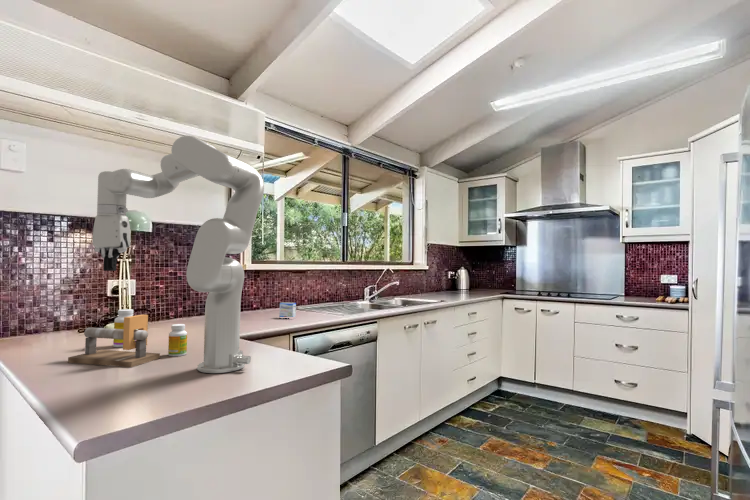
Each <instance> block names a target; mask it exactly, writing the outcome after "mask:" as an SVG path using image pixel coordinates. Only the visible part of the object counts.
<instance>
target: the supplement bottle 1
mask: <svg viewBox="0 0 750 500" xmlns="http://www.w3.org/2000/svg"><path fill="white" fill-rule="evenodd" d="M117 314H118V316H116V317H115V318H114V321H113V326H114V327H113V329H124V317H130V316H134V309H130V308H129V309H128V308H127V309H125V308H124V309H118V311H117ZM135 330H137V329H135ZM133 341H136V340H133ZM112 342H113V345H112V346H113V347H114V348H122V349H123V339H113V341H112Z"/></svg>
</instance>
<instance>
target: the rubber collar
mask: <svg viewBox="0 0 750 500" xmlns="http://www.w3.org/2000/svg"><path fill="white" fill-rule="evenodd" d="M148 323H149V314H137V315H133V316H130V317H124V332H123V348H122V351H130V350H134V349H135V350H136V341H138V340H135V341H133V337H134V330H135V329H136V330H146V331H147V332H148V331H149V329H148V328H149V326H148V325H149V324H148ZM146 346H148V338H147V339H146Z"/></svg>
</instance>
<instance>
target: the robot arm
mask: <svg viewBox="0 0 750 500" xmlns="http://www.w3.org/2000/svg"><path fill="white" fill-rule="evenodd" d="M170 152H171V153H169V154H166V155H164V156H163V157H162V158H161V160H160V168H161V171H160V172H159V173H156V174H147V173H144V172H141V171H138V170H137V171H136V170H132V169H130V168H129V169H128V168H120V169H117V170H114V171H101V172H99V173H98V177H97V202H96V203H97V204H96V216H95V218H94V223H93V229H92V246H93V247H94V249H93V250H94V252H96V253H100V255H101V258H102V259H103V266H102V267H103V268H102V269H103V272H113V271H114V272H116V271H117V266H118V263H117V262H118V258H119V257H120V254H121V253H125V252H127V250H128V248H130V247H131V240H132V239H131V226H130V221H129V217H128V216H127V213H128V208H127V195H129V196H134V197H140V198H142V199H143V198H144V199H155V198H158V197H162V196H164V195H168V194H169V193H172V192H174V191H175V190H176V188H177V187H178V186H179V185H180V183H182V182H185V181H188V180H190V179H193V178H196V177H202V178H204V179H206V180H207V181H209V182H211V183H214V184H216V185H220V186H223V187H226V188H230V189H232V190H233V191H234V193H233V195H232V196H231V197H230V199H229V200H228V202H227V204H226V207H225V212H224V215H223V217H222V218H219V217H213V218H209V219H207V220H206V221H204V222H203V223H202V224H201V225H200V227H199V228H198V231H197V233H196V235H195V238H194V242H193V244H192V245H193V246H192V249H191V253H190V255H189V260H188V264H187V268H186V274H185V275H186V281H187V284H188V285H189V287H190V288H191V289H192V290H193V291H196V292H198V293H208V294H207V297H206V301H205V304H204V305H205V307H204V333H203V336H204V338H203V340H204V341H203V361H202V362H200V363H198V364H197V371H199V372H201V373H205V374H206V373H207V374H224V373H231V372H235V371H239V370H242V369H243V368H244V367H245V366H246V365H250V364H251V359H252V358H251V357H252V356H251V355H244V350H241V349H240V342H241V341H240V337H241V335H240V334H241V330H240V329H241V303H242V291H243V287H244V283H245V282H244V281H245V269H244V267H243V265H242V264H241V263H240V261H238V260H236V259H234V258H232V257H227V255H238V254H241V253H244V251H246V250H247V248H248V246H249V243H250V241H251V238H252V233H253V229H254V226H255V223H256V219H257V214H258V211H259V208H260V206H261V202H262V199H263V195H264V192H265V185H264V180H263V178H262V176H261V175H260V173H259V172H258V171H257V170H256V169H255V168H254V167H253V166H251V165H250V164H248V163H246V162H244V161H242V160H240V159H238V158H235V157H233V156H231V155H229V154H227V153H224V152H223V151H221V150H219V149H217V148H216V147H215V146H214V145H212V144H210V143H208V142H207V141H205V140H202V139H200V138H199V137H198V138H197V137H196V136H193V135H182V136H180V137H178V138H177V139H175V141H174V142H173V143H172V145H171V151H170Z"/></svg>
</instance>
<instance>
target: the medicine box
mask: <svg viewBox="0 0 750 500" xmlns="http://www.w3.org/2000/svg"><path fill="white" fill-rule="evenodd" d="M278 314H279V317H295V316H296V315H297V302H279V313H278Z"/></svg>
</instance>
